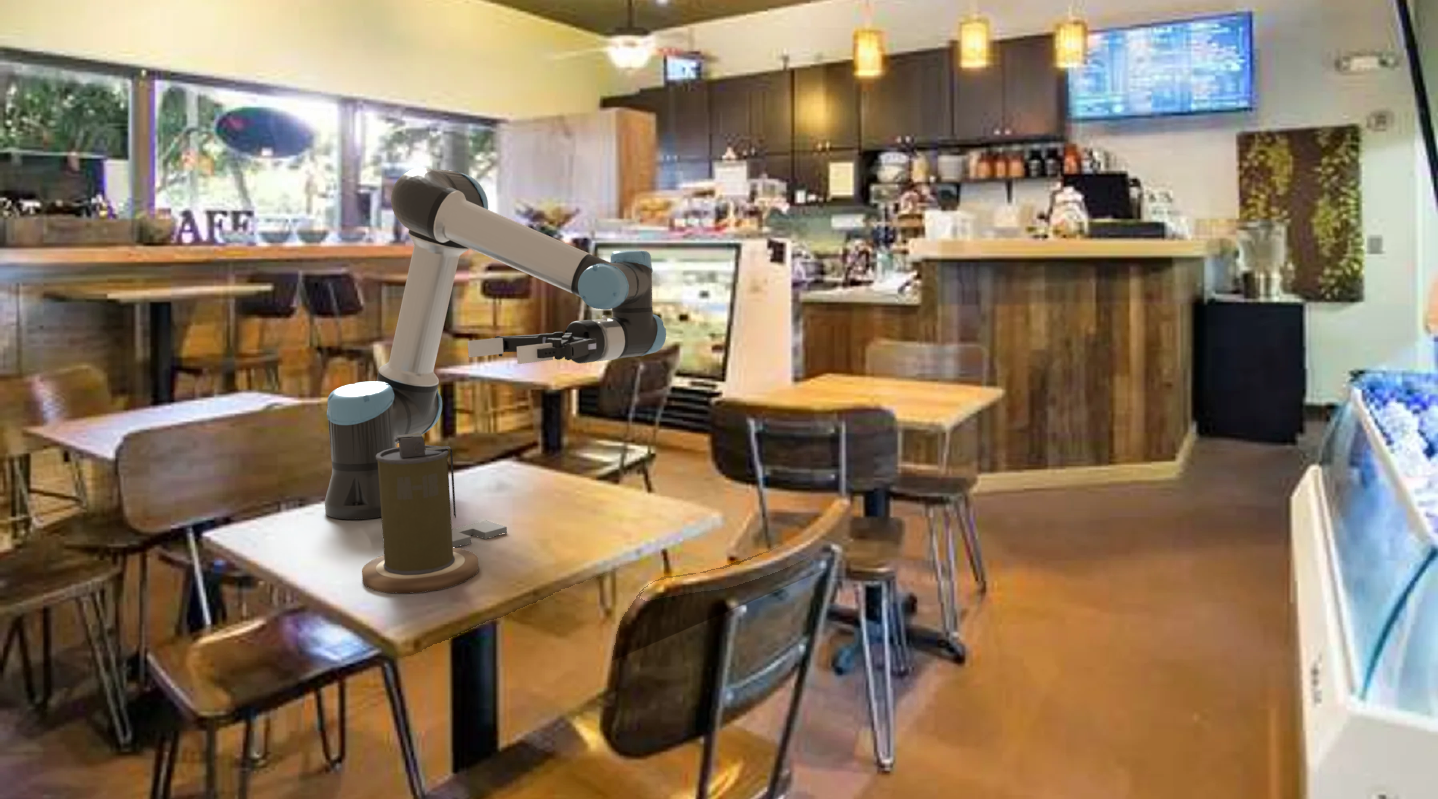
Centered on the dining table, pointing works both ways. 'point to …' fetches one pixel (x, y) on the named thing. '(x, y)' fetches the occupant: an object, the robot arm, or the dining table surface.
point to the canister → (416, 506)
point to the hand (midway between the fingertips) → (493, 352)
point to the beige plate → (405, 584)
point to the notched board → (476, 532)
